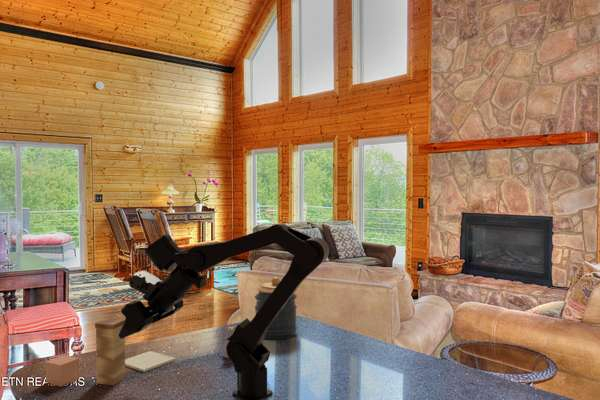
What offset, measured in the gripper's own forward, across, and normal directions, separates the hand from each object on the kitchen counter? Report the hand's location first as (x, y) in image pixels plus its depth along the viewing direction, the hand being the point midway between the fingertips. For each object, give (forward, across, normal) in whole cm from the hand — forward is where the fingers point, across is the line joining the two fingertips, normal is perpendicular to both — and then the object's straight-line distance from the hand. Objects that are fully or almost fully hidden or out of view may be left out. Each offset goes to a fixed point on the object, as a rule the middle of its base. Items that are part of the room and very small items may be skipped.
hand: (131, 331), depth 114 cm
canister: (-7, -44, +24) cm, 51 cm away
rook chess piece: (-3, -22, +20) cm, 30 cm away
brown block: (+12, 0, +5) cm, 13 cm away
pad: (+11, -13, +6) cm, 18 cm away
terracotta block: (+20, +3, -3) cm, 21 cm away
